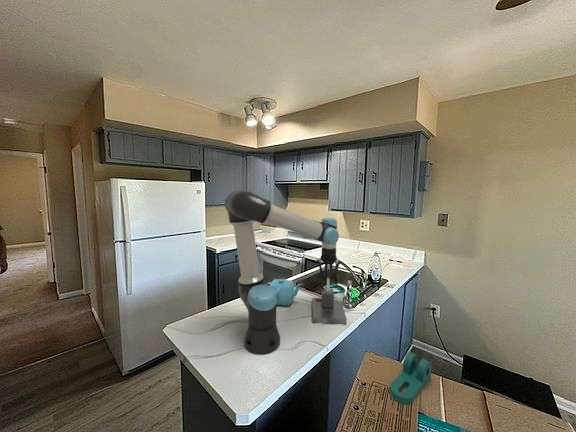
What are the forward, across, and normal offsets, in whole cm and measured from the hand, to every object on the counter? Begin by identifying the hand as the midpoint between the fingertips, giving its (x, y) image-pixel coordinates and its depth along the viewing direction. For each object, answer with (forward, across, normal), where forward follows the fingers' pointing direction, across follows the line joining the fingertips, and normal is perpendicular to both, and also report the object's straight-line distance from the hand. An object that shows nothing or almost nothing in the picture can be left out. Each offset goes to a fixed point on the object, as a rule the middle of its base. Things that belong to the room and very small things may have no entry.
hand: (327, 290), depth 133 cm
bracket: (+12, -23, +50) cm, 56 cm away
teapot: (+11, +24, -7) cm, 28 cm away
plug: (+11, 0, 0) cm, 11 cm away
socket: (+11, 0, +3) cm, 12 cm away
